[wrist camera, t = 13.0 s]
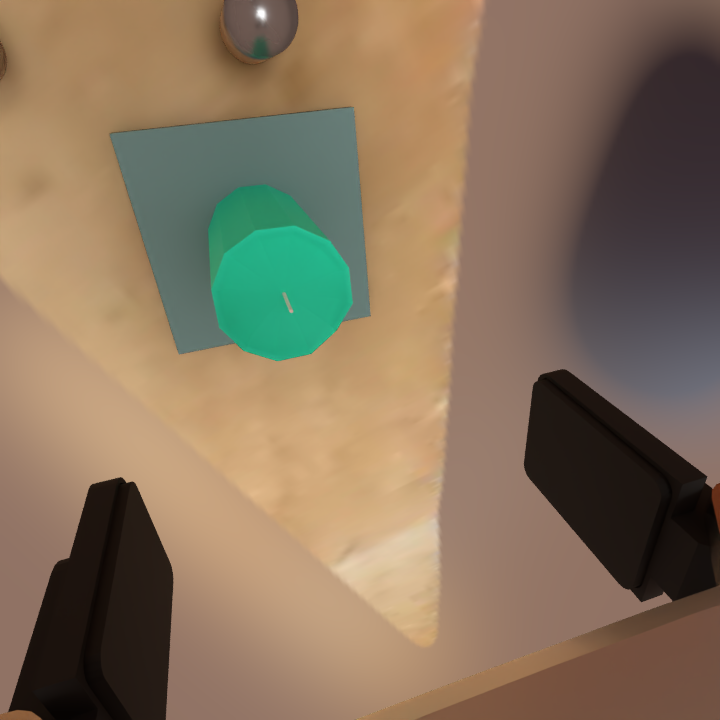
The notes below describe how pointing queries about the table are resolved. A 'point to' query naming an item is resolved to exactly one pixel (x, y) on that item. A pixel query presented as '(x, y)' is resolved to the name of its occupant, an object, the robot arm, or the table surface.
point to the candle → (274, 275)
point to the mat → (220, 178)
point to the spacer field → (248, 29)
